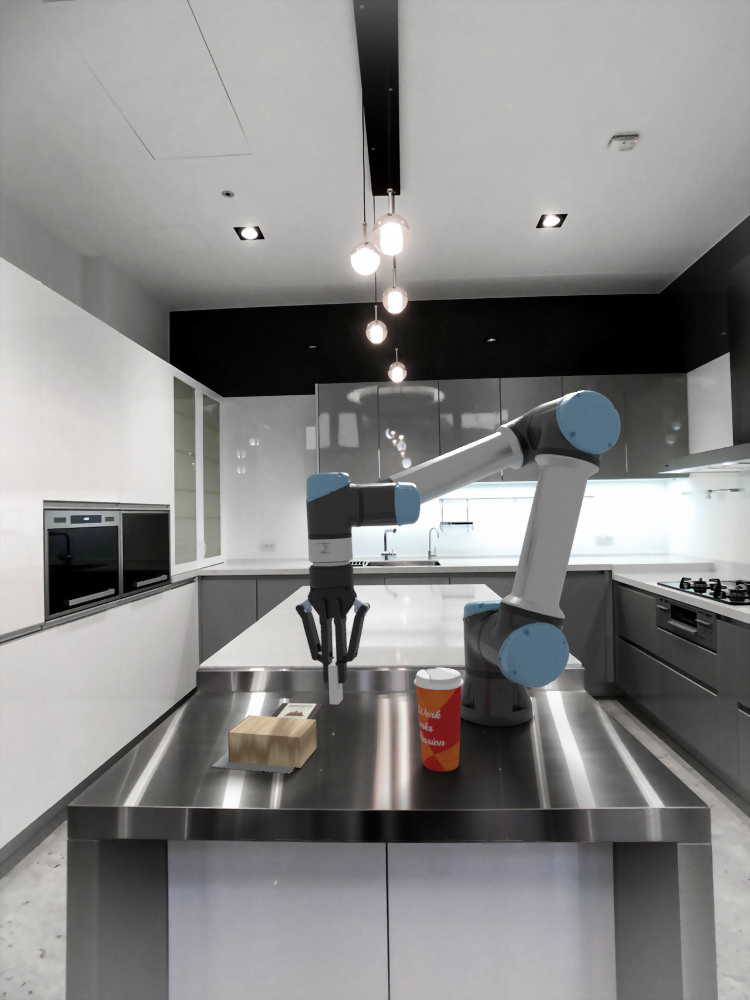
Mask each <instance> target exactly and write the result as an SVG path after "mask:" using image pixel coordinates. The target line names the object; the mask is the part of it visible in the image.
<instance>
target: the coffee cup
mask: <svg viewBox="0 0 750 1000" xmlns="http://www.w3.org/2000/svg"><path fill="white" fill-rule="evenodd" d="M463 680H464V678H462V674H461V673H460V672H459V671H458V670H456V669H453V668H448V667H435V668H434V667H430V668H426V669H420V670H418V671H417V673H416V675H415V679H414V680H413V684H414V685H415V688H416V700H417V712H418V713H417V714H418V725H419V726H418V727H419V737H420V738H419V740H420V747H421V749H420V751H421V758H422V759H421V761H422V765H423V767H424V766H425V767H426V769H427V770H429V771H431V772H436V771H437V772H438V773H447V772H450V771H451V772H452V771H453V770H456V769H457V768H458V767H459V763H460V750H461V749H460V746H461V745H460V743H461V719H462V717H461V687H462V685H463V683H464V682H463ZM425 767H424V768H425Z"/></svg>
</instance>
